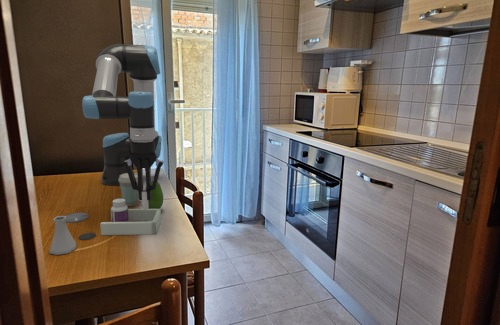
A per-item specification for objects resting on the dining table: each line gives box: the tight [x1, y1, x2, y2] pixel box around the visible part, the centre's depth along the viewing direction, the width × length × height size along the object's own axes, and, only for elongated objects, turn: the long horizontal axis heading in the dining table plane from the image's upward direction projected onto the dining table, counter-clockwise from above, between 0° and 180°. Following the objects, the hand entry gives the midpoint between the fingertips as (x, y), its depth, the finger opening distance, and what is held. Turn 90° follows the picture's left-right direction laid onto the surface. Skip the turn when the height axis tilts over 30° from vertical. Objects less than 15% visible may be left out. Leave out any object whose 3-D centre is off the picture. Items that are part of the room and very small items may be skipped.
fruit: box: [144, 180, 164, 209], centre depth 126 cm, size 8×8×12 cm
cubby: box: [100, 208, 162, 236], centre depth 113 cm, size 12×17×4 cm
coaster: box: [65, 212, 89, 224], centre depth 119 cm, size 8×8×1 cm
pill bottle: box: [110, 198, 130, 222], centre depth 112 cm, size 5×5×10 cm
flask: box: [48, 215, 78, 256], centre depth 96 cm, size 7×7×10 cm
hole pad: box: [78, 232, 97, 241], centre depth 105 cm, size 5×5×1 cm
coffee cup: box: [118, 172, 140, 207], centre depth 133 cm, size 8×8×12 cm
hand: (145, 208), depth 112 cm, fingers closed
